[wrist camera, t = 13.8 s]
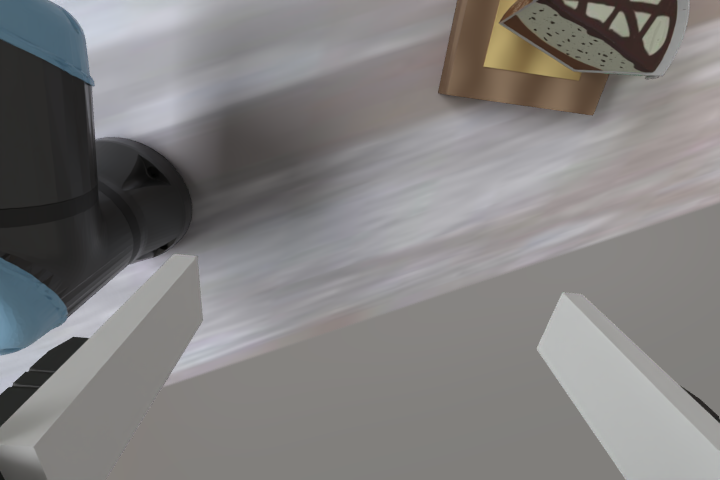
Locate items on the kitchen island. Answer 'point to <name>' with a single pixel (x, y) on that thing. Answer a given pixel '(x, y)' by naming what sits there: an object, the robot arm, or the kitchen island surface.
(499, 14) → the plate
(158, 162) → the robot arm
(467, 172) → the kitchen island surface
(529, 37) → the food container
